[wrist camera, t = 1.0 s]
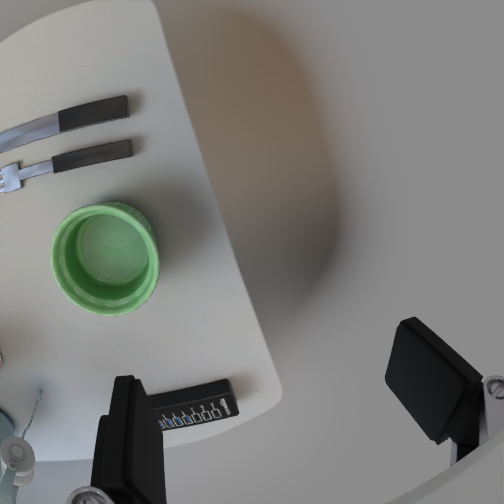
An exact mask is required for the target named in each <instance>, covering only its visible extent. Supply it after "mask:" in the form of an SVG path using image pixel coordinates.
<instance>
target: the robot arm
mask: <svg viewBox="0 0 504 504" xmlns="http://www.w3.org/2000/svg"><path fill="white" fill-rule="evenodd" d="M482 378H483V376H482V375H480V373H479V372H478V371H477V370H475V369H474V368H473V367H472V366H471V365H470V364H469V363H468V362H467V361H466V360H465V359H463V358H462V357H461V356H460V355H459V354H458V353H457V352H456V351H455V350H453V349H452V348H451V347H450V346H449V345H448V344H446V343H445V342H444V341H443V340H442V339H441V338H440V337H438V336H437V335H436V334H435V333H434V332H433V331H432V330H431V329H429V328H428V327H427V326H426V325H425V324H424V323H422V322H421V321H420V320H419V319H418V318H416V317H411V318H408V319H405V320H402V321H401V322H400V324H399V326H398V327H397V329H396V334H395V338H394V343H393V347H392V351H391V355H390V359H389V363H388V367H387V371H386V374H385V381H386V384H387V385H388V387H389V388H390V389H391V390H392V392H393V393H394V394H395V395H396V397H397V398H398V399H399V400H400V401H401V403H402V404H403V405H404V407H405V408H406V409H407V410H408V412H409V413H410V414H411V416H412V417H413V418H414V419H415V421H416V422H417V423H418V425H419V426H420V427H421V429H422V430H423V431H424V432H425V434H426V435H427V436H428V438H429V439H430V440H434V441H435V442H436V444H437V445H439V444H441V443H442V442H444V441H445V440H447V439H448V438H449V437H450V438H451V439H452V451H451V463H450V467H449V468H448V469H446V470H445V471H443V472H441V473H440V474H438V475H437V476H435V477H433V478H432V479H430V480H429V481H427V482H425V483H423V484H422V485H420V486H418V487H416V488H415V489H413V490H411V491H409V492H407V493H405V494H403V495H402V496H400V497H398V498H396V499H394V500H392V501H390V502H388V503H386V504H504V377H502V376H497V375H495V376H490V377H488V378H487V379H486V380H485V382H484V383H482V382H481V380H482ZM67 504H167V502H166V490H165V474H164V453H163V433H162V429H161V426H160V424H159V422H158V420H157V417H156V415H155V413H154V411H153V408H152V406H151V404H150V402H149V399H148V397H147V395H146V392H145V390H144V387H143V385H142V382H141V380H140V379H135V378H134V376H133V375H128V376H117V377H116V378H115V382H114V387H113V393H112V399H111V404H110V411H109V415H102V416H101V417H100V420H99V426H98V432H97V438H96V444H95V451H94V459H93V467H92V476H91V485H90V486H86V487H81V488H78V489H76V490H75V491H73V492H72V493H71V494H70V496H69V498H68V500H67Z"/></svg>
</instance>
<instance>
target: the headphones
mask: <svg viewBox="0 0 504 504" xmlns="http://www.w3.org/2000/svg"><path fill="white" fill-rule="evenodd" d="M41 394H42V390H40V392H39V394H38V397H37V400H36V404H35V407H34V411H33V414H32V417H31V420H30V423H29V425H28V427H27V428H26V429H25V430H24V432H23V435H22V438H20V437H17V436H10V437H7V438H5V439H4V440H3V441H2V443H1V446H0V459H1V468H2V472H3V474H4V476H3V479H2V481H1V484H0V504H16V496H17V490H18V487H19V486H20V487H21V486H26V485H28V484H29V483H30V482H31V480H32V478H33V473H34V470H33V469H34V465H35V457H34V452H33V450H32V447H31V446H30V445H29V444H28V442H27V441H25V440H24V439H23V438H24V435H25V433H26V431H27V429H28V428H29V427H30V424H31V422H32V419H33V416H34V413H35V409H36V406H37V403H38V399H39V400H40V398H41Z"/></svg>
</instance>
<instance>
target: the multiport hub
mask: <svg viewBox="0 0 504 504" xmlns="http://www.w3.org/2000/svg"><path fill="white" fill-rule="evenodd" d="M147 397H148V399H149V402H150V404H151V406H152V408H153V411H154V413H155V415H156V417H157V420H158V422H159V424H160V426H161V429H162V431H165V430H171V429H177V428H183V427H188V426H193V425H198V424H203V423H207V422H212V421H216V420H221V419H225V418H229V417H233V416H237V415H238V414H239V410H238V406H237V402H236V398H235V396H234V393H233V390H232V387H231V385H230V382H229V380H227V379H224V380H220V381H216V382H212V383H207V384H203V385H199V386H194V387H190V388H185V389H181V390H176V391H171V392H166V393H161V394H156V395H150V396H147Z"/></svg>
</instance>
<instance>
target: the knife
mask: <svg viewBox="0 0 504 504" xmlns="http://www.w3.org/2000/svg"><path fill="white" fill-rule="evenodd" d="M127 117H129V110H128V97H127V96H126V95H123V96H118V97H113V98H108V99H104V100H100V101H95V102H91V103H87V104H83V105H79V106H76V107H72V108H68V109H65V110H62V111H59V112H58V113H56V114H53V115H50V116H47V117H43V118H40V119H37V120H34V121H32V122H29V123H26V124H23V125H20V126H18V127H15V128H12V129H10V130H7V131H5V132H2V133H0V153H2V152H4V151H7V150H10V149H12V148H15V147H18V146H21V145H24V144H27V143H30V142H33V141H36V140H39V139H42V138H46V137H49V136H52V135H56V134H59V133H63V132H66V131H70V130H74V129H78V128H82V127H86V126H90V125H94V124H98V123H103V122H107V121H112V120H117V119H122V118H127Z"/></svg>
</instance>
